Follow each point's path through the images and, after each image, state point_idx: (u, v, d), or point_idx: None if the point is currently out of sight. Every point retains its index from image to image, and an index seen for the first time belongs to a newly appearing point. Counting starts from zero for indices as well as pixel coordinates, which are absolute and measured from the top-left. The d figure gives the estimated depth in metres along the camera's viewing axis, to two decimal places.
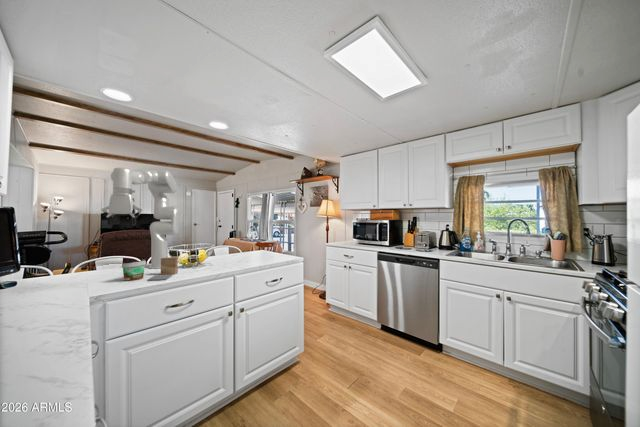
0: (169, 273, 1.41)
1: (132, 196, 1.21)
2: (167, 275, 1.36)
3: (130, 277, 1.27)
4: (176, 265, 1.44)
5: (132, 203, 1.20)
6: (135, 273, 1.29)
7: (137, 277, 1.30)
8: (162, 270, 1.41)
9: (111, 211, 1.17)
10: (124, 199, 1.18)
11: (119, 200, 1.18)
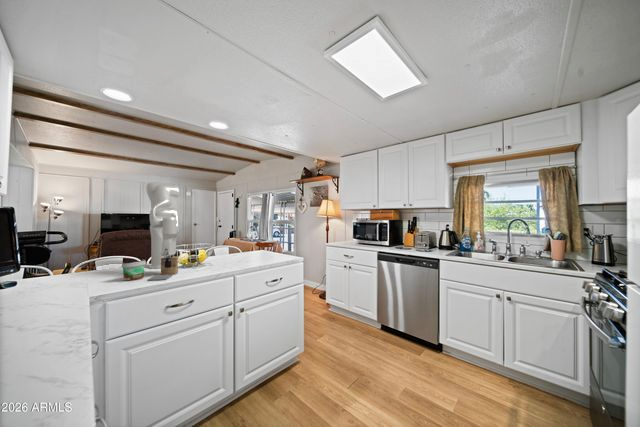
0: (169, 272, 1.41)
1: None
2: (167, 275, 1.36)
3: (130, 277, 1.27)
4: (176, 265, 1.44)
5: None
6: (135, 273, 1.29)
7: (137, 277, 1.30)
8: (162, 270, 1.41)
9: (170, 254, 1.40)
10: (175, 242, 1.46)
11: (174, 243, 1.44)
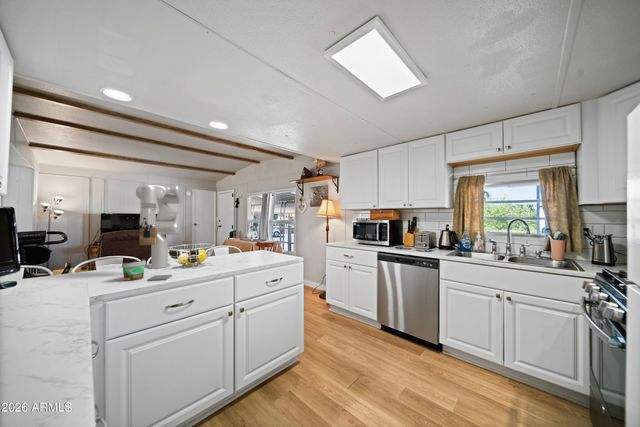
0: (148, 243, 1.39)
1: None
2: (167, 275, 1.36)
3: (130, 277, 1.27)
4: (156, 235, 1.42)
5: None
6: (135, 273, 1.29)
7: (137, 277, 1.30)
8: (141, 240, 1.38)
9: (149, 223, 1.38)
10: (154, 213, 1.43)
11: (153, 214, 1.41)
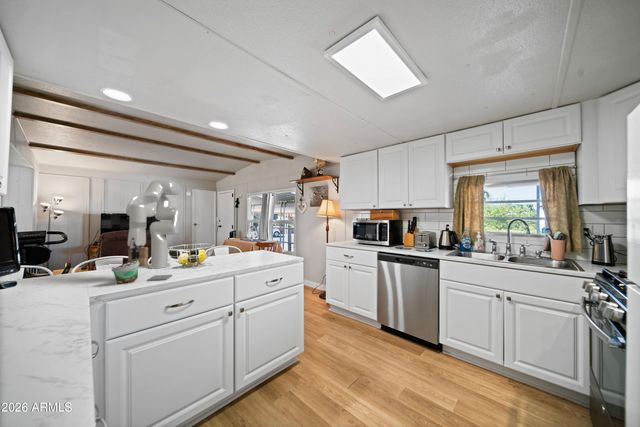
0: None
1: None
2: (167, 275, 1.36)
3: (121, 280, 1.21)
4: (146, 256, 1.32)
5: None
6: (127, 277, 1.22)
7: (129, 280, 1.24)
8: (130, 261, 1.29)
9: (138, 244, 1.28)
10: (144, 232, 1.34)
11: (142, 233, 1.32)
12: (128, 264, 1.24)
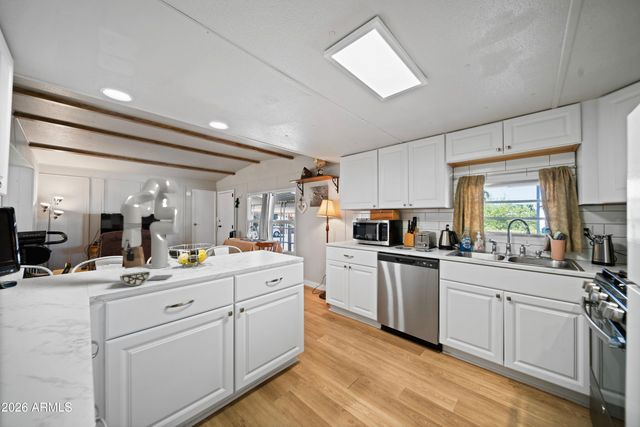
0: (134, 265, 1.25)
1: None
2: (167, 275, 1.36)
3: None
4: (141, 255, 1.28)
5: None
6: None
7: None
8: (126, 263, 1.25)
9: (133, 245, 1.24)
10: (139, 233, 1.29)
11: (137, 234, 1.27)
12: (137, 278, 1.19)
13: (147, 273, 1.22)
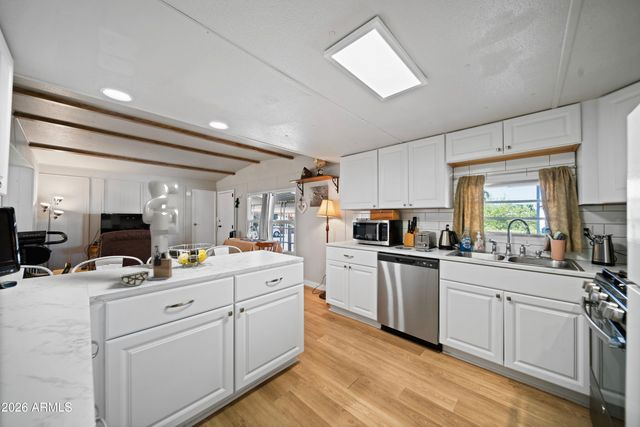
0: (162, 275, 1.32)
1: None
2: None
3: None
4: (170, 267, 1.34)
5: None
6: None
7: None
8: (155, 273, 1.31)
9: (161, 251, 1.30)
10: (166, 239, 1.36)
11: (165, 240, 1.34)
12: (136, 278, 1.19)
13: (146, 273, 1.22)
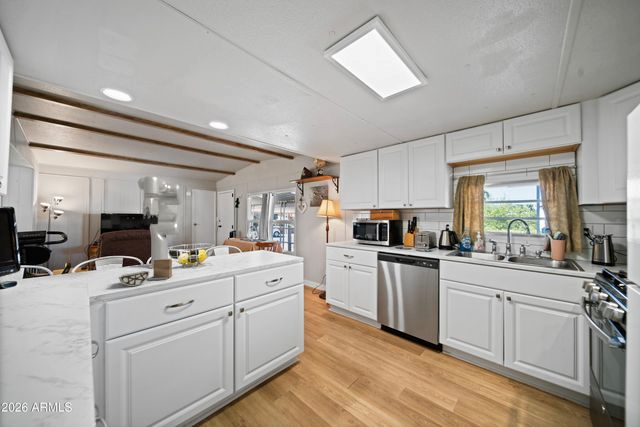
0: (162, 275, 1.32)
1: None
2: None
3: None
4: (170, 267, 1.34)
5: None
6: None
7: None
8: (155, 273, 1.31)
9: (152, 213, 1.40)
10: (157, 203, 1.45)
11: (155, 204, 1.43)
12: (136, 278, 1.19)
13: (146, 273, 1.22)
